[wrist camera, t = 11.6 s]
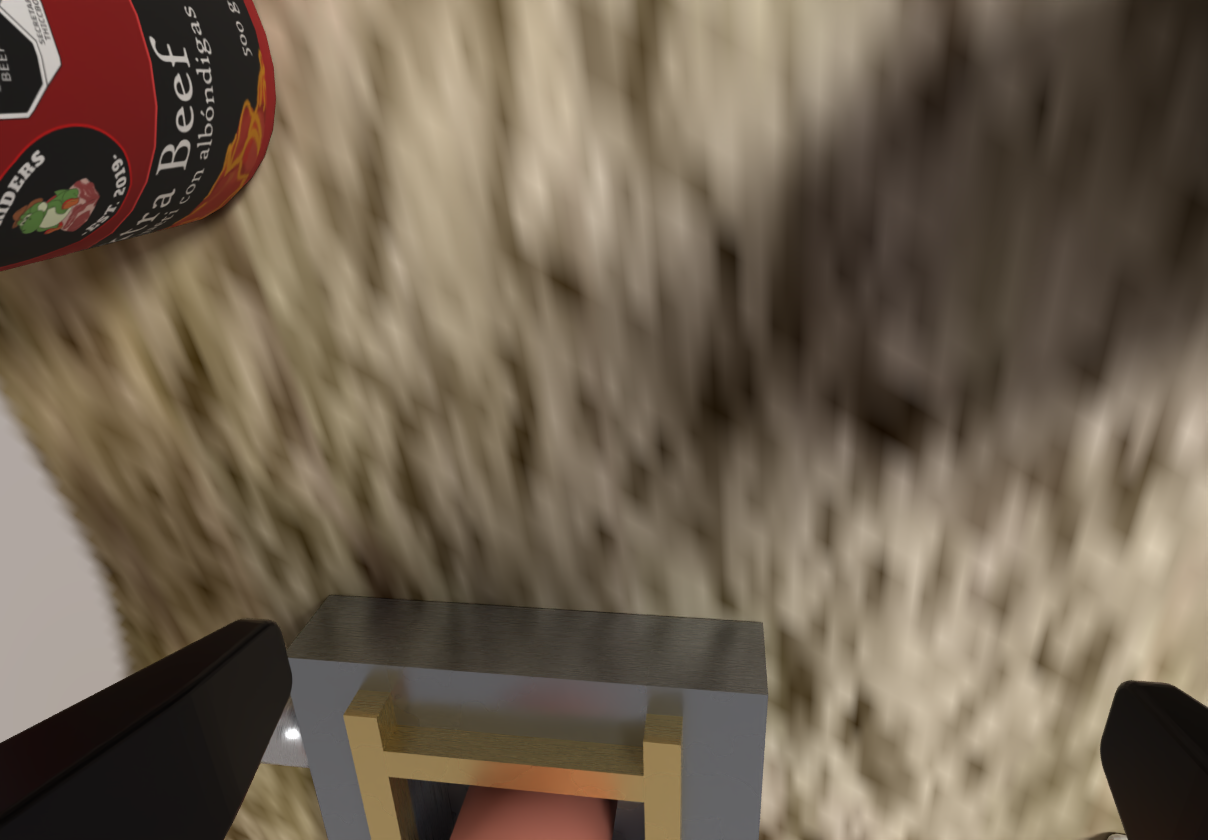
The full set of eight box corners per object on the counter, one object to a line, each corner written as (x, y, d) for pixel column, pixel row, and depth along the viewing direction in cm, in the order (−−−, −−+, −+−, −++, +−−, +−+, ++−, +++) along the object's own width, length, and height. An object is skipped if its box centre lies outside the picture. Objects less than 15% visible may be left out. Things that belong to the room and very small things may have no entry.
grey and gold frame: (762, 622, 23) (770, 723, 19) (745, 924, 28) (747, 1047, 25) (245, 589, 25) (165, 673, 22) (322, 873, 31) (268, 977, 27)
